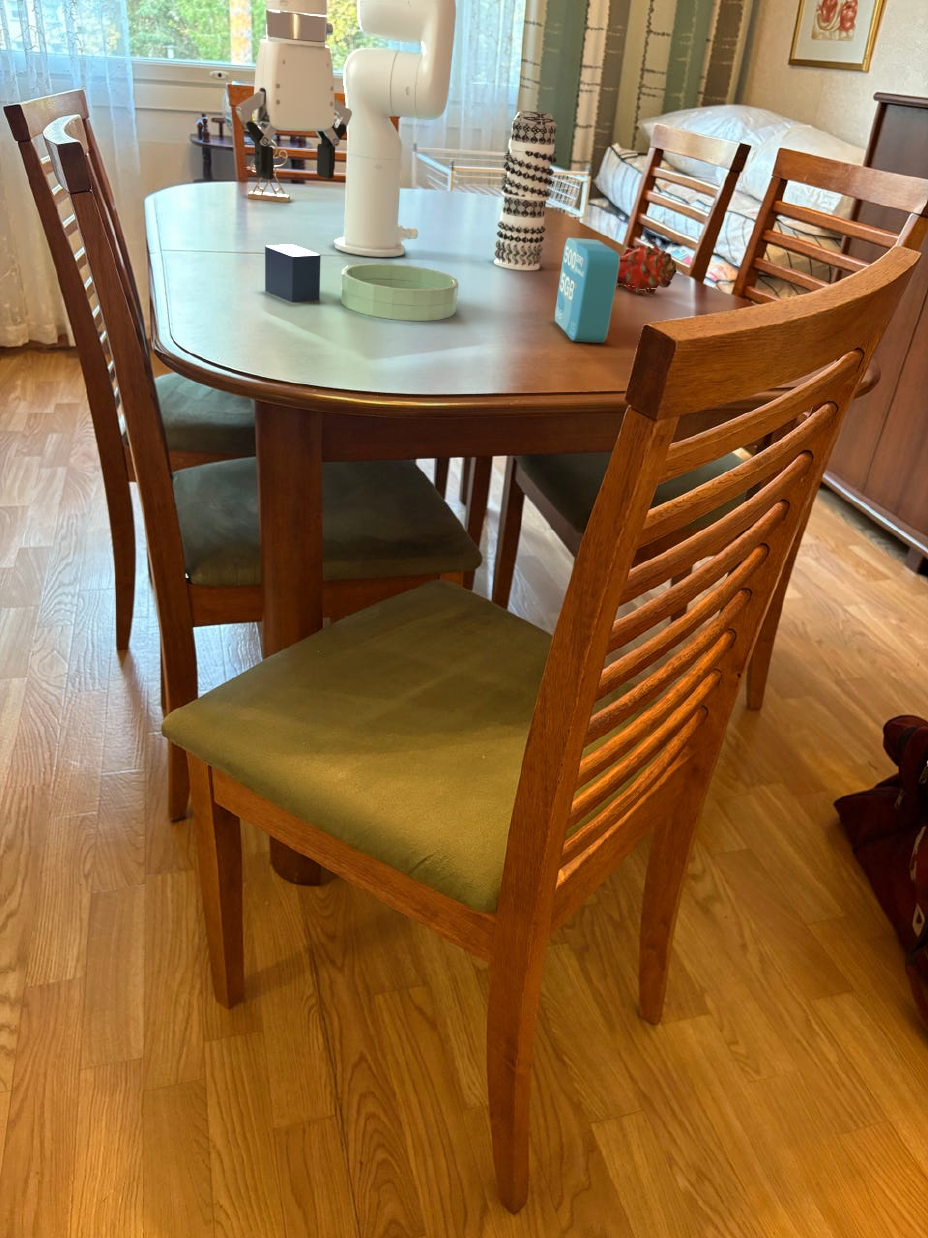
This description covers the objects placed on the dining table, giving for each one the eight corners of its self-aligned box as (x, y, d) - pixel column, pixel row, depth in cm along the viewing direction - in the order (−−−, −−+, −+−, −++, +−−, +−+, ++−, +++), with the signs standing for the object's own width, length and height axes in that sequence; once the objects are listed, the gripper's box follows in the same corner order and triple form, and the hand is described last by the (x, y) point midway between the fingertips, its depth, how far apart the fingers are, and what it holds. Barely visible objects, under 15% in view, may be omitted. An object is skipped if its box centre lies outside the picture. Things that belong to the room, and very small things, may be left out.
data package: (553, 321, 141) (565, 235, 135) (582, 323, 142) (596, 237, 136) (574, 344, 131) (589, 252, 125) (606, 346, 132) (622, 254, 126)
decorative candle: (548, 266, 178) (570, 115, 165) (530, 273, 171) (551, 115, 158) (503, 257, 181) (521, 108, 168) (484, 263, 174) (501, 108, 161)
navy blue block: (292, 291, 141) (292, 244, 137) (319, 302, 136) (320, 254, 133) (265, 293, 138) (264, 245, 134) (292, 304, 134) (292, 256, 130)
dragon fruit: (675, 306, 166) (605, 308, 168) (674, 269, 170) (605, 270, 171) (680, 270, 159) (607, 272, 160) (679, 232, 162) (607, 234, 163)
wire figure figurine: (247, 198, 211) (246, 137, 205) (249, 195, 214) (249, 136, 208) (288, 202, 212) (289, 142, 206) (290, 199, 215) (290, 140, 209)
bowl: (406, 291, 148) (408, 261, 146) (478, 317, 138) (481, 285, 136) (318, 298, 138) (319, 266, 136) (388, 328, 128) (390, 293, 126)
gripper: (335, 32, 129) (332, 171, 138) (220, 22, 118) (224, 173, 127) (369, 37, 124) (363, 181, 133) (252, 27, 114) (254, 183, 123)
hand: (295, 177), depth 130 cm, fingers open, 9 cm apart
